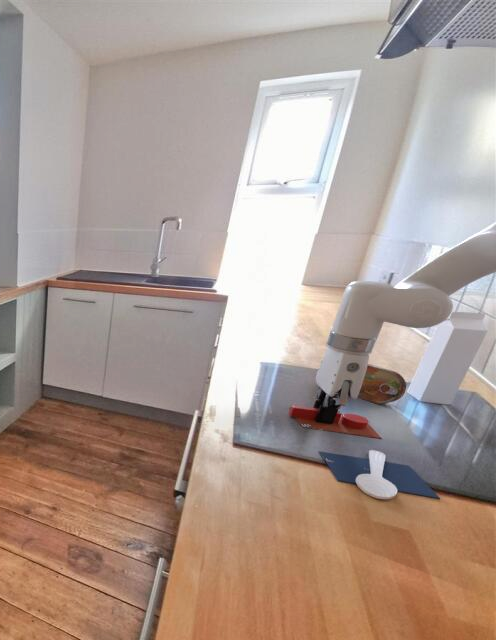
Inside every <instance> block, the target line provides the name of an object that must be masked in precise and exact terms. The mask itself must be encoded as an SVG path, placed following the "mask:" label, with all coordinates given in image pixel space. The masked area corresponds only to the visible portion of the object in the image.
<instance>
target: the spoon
mask: <svg viewBox="0 0 496 640" xmlns="http://www.w3.org/2000/svg"><path fill="white" fill-rule="evenodd" d="M368 459H369V463H370V471H371V474H360V475H358V476H357V478H356V484H355V485H357V487H358V488H359V490H361V491H362V492H363V493H365V494H367V495H368V496H370V497H372V498H375V499H379V500H390V499H391V500H392V499H393V498H395V497H396V496H397V494H398V492H397V488H396V486H395V485H394V484H392V483H391V482H389V481H388V480H386V479H384V478H383V477H382V473H383V467H384V462H386V454H385V453H384V452H381V451H380V450H375V449H370V450H369V451H368Z"/></svg>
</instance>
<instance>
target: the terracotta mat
mask: <svg viewBox="0 0 496 640" xmlns="http://www.w3.org/2000/svg"><path fill="white" fill-rule="evenodd" d="M290 409H291V406H289V410H290ZM341 414H342V416H343V414H344V413H341ZM297 419H298V420H297ZM297 419H296V420H297V421H299V422H300V423H299V422H298V423H299V425H300V424H303V425H304V424H306V425H307V424H309V425H311V426H309V428H308V429H311V428H315V429H314V430H318V429H323V430H322V431H325V430H327V431H326V432H331V431H333V433H338V432H339V434H345V433H346V435H353V436H361V437H366V438H367V437H368V438H372V439H373V438H374V439H379V440H380V439H381V440H382V436H381V435H380V434H379V433H378V432H377V431H376V430H375V429H374V428H373V427H372V426H371V425H370V424H369V423H368V424H367V427H366V428H365V429H356V428H351V427H348V426H346V425H344V424H342V423H341V419H342V417H340V420H339V422H338V423H333V424H325V423H318V422H316V421H315V420H309V419H302V418H297ZM306 427H307V426H306Z"/></svg>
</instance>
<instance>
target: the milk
mask: <svg viewBox="0 0 496 640" xmlns="http://www.w3.org/2000/svg"><path fill="white" fill-rule="evenodd" d="M485 316H486V314H485V313H483V312H482V313H481V312H469V311H468V312H465V311H452V312H451V314H450V316H449V317H448V318H447V319H446V320H445V321H443V322H442V323H440V324H438V325H435V329H434V331H433V333H432V335H431V338H430V340H429V342H428V344H427V346H426V348H425V351H424V354H423V355H422V357H421V360H420V362H419V364H418V366H417V369H416V371H415V373H414V375H413V377H412V380H411V381H410V384H409V386H408V389H407V391H406V393H407V394H409V395H410V396H412V397H413V398H414V399H416V400H417V401H418V402H420V403H428V404H429V403H430V404H439V405H447V406H451V405H452V402H453V401H454V399H455V397H456V395H457V393H458V391H459V389H460V388H461V385H462V383H463V381H464V380H465V377H466V375H467V374H468V372H469V369H470V367H471V365H472V364H473V362H474V359H475V357H476V356H477V353H478V351H479V349H480V348H481V346H482V344H483V341H484V339H485V338H486V336H487V334H488V332H489V329H488V327H487V326H486V323H485V322H484V319H485Z"/></svg>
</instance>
